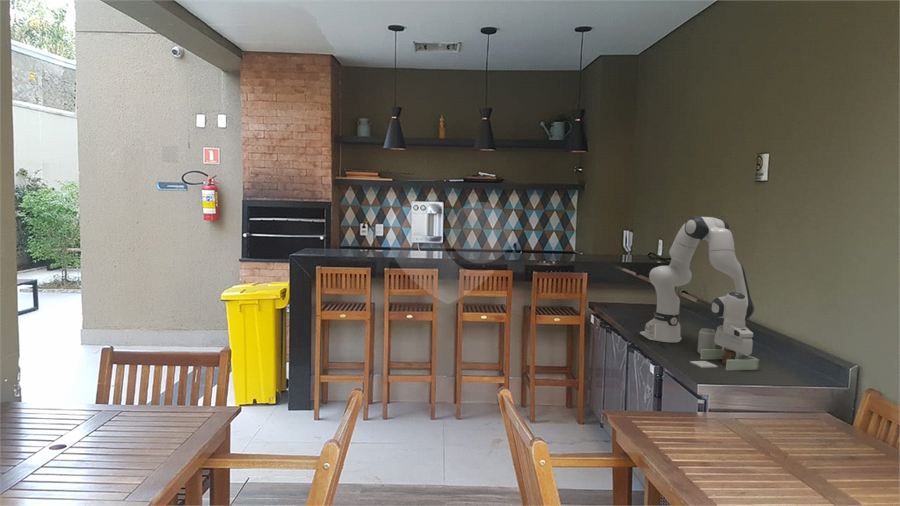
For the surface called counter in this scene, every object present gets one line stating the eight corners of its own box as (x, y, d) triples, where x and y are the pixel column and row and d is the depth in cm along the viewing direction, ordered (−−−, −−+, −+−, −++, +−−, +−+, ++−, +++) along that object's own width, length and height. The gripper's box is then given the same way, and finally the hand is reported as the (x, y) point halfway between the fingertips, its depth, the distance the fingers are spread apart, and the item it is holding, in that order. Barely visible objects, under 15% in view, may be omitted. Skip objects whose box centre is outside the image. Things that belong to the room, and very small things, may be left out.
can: (715, 356, 275) (718, 331, 274) (699, 355, 277) (701, 330, 276) (712, 352, 283) (714, 328, 282) (695, 351, 284) (697, 327, 283)
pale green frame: (700, 359, 270) (701, 349, 270) (729, 358, 274) (730, 348, 273) (727, 370, 253) (728, 360, 252) (758, 369, 256) (759, 359, 256)
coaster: (690, 362, 263) (690, 361, 263) (705, 362, 265) (705, 360, 265) (701, 367, 255) (701, 366, 255) (717, 367, 257) (717, 365, 257)
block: (721, 362, 265) (723, 349, 265) (731, 362, 266) (732, 349, 266) (729, 366, 260) (730, 352, 260) (739, 365, 262) (740, 352, 261)
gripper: (712, 324, 271) (709, 353, 273) (744, 334, 251) (741, 366, 253) (723, 324, 273) (721, 353, 274) (756, 334, 253) (753, 365, 254)
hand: (731, 359), depth 263 cm, fingers open, 5 cm apart
